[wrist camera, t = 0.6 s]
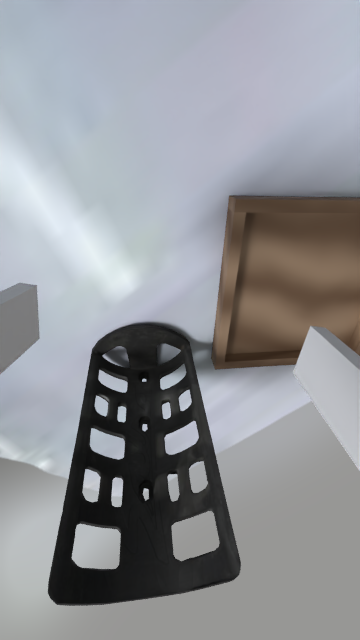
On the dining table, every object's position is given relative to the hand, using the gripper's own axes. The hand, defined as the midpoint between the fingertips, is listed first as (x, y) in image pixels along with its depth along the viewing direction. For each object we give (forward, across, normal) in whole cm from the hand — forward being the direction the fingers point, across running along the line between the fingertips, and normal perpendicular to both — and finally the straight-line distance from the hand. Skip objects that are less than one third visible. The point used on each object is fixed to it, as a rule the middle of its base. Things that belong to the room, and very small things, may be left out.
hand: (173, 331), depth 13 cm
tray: (+16, +13, 0) cm, 21 cm away
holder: (+16, -2, -11) cm, 19 cm away
